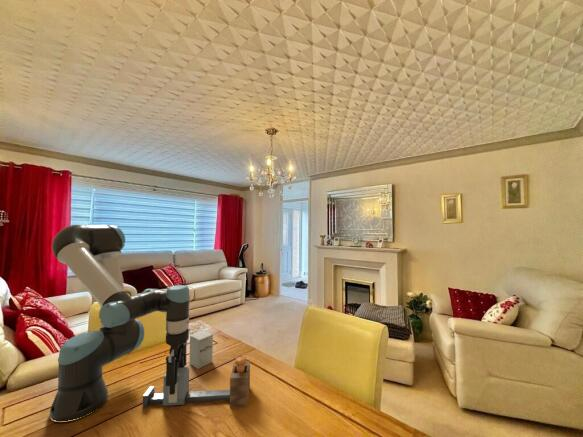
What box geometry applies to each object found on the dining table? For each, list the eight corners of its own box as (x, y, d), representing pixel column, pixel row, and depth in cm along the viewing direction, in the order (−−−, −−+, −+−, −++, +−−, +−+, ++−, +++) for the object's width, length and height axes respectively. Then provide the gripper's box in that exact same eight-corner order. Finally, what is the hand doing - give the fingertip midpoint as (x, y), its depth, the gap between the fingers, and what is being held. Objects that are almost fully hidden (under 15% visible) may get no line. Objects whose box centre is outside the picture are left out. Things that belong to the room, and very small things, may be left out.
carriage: (162, 405, 84) (163, 376, 85) (169, 394, 90) (169, 367, 90) (183, 404, 85) (184, 375, 85) (188, 393, 90) (189, 366, 91)
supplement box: (198, 369, 106) (198, 340, 107) (189, 363, 111) (189, 335, 111) (212, 362, 112) (213, 334, 112) (203, 356, 117) (203, 329, 117)
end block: (229, 407, 84) (230, 378, 84) (234, 388, 94) (234, 362, 94) (247, 406, 85) (247, 377, 85) (249, 387, 95) (250, 361, 95)
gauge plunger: (234, 380, 87) (234, 362, 88) (236, 374, 91) (236, 356, 91) (245, 380, 88) (245, 361, 88) (246, 373, 92) (246, 356, 92)
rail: (142, 407, 84) (142, 395, 84) (149, 397, 89) (149, 386, 89) (230, 402, 87) (231, 391, 87) (233, 392, 92) (233, 382, 92)
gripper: (178, 341, 79) (177, 415, 79) (196, 319, 98) (195, 379, 97) (154, 342, 79) (153, 416, 78) (176, 320, 97) (175, 379, 96)
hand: (176, 395), depth 87 cm, fingers closed on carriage, 5 cm apart
